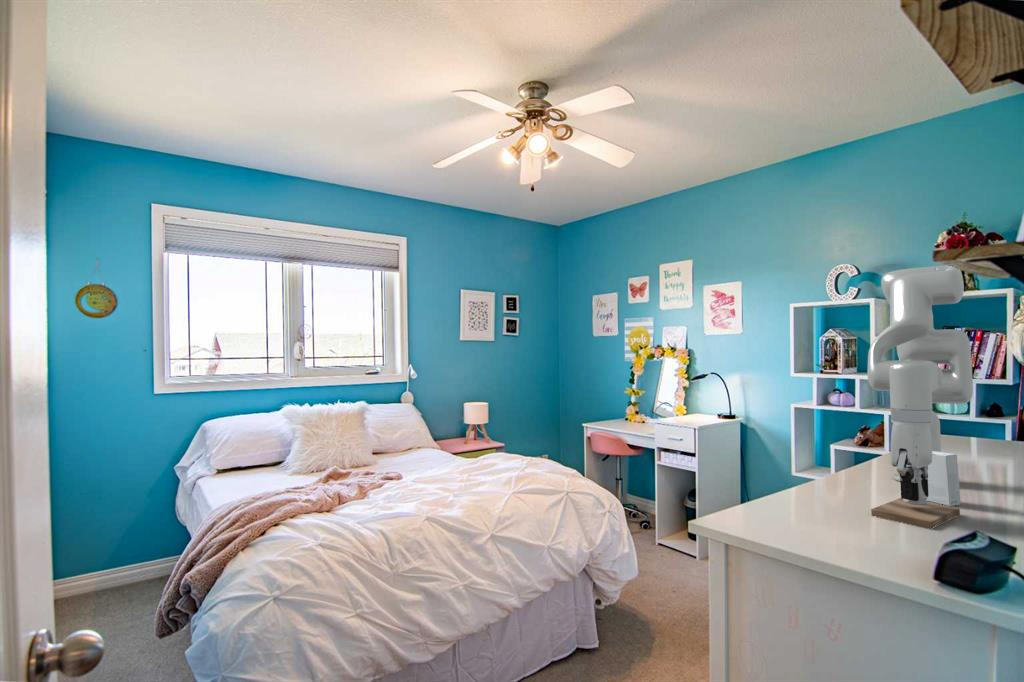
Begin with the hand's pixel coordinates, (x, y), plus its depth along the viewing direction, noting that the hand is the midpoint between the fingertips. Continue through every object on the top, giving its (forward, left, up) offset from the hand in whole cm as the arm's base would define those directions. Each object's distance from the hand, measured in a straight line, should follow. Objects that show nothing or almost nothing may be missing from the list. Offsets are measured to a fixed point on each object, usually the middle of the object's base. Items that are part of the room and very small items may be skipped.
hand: (914, 496), depth 116 cm
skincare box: (-16, 0, -4) cm, 17 cm away
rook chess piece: (0, 0, -2) cm, 2 cm away
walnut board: (0, 0, -4) cm, 4 cm away
